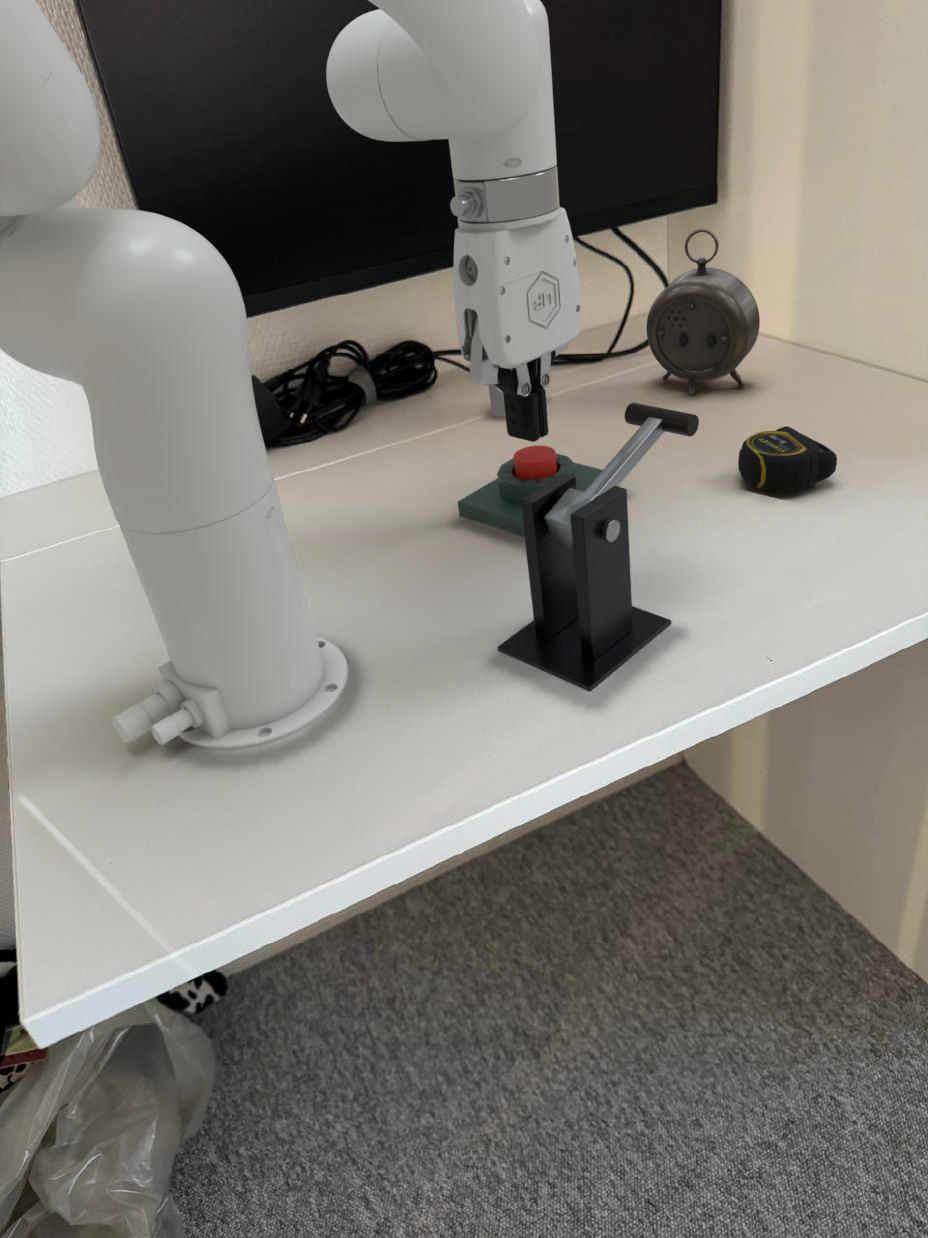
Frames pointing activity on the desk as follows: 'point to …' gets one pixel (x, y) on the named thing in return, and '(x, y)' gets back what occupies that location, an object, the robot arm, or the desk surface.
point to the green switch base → (516, 494)
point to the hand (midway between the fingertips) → (527, 435)
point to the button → (535, 462)
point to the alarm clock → (703, 323)
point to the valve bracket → (580, 590)
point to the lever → (620, 462)
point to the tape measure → (784, 460)
